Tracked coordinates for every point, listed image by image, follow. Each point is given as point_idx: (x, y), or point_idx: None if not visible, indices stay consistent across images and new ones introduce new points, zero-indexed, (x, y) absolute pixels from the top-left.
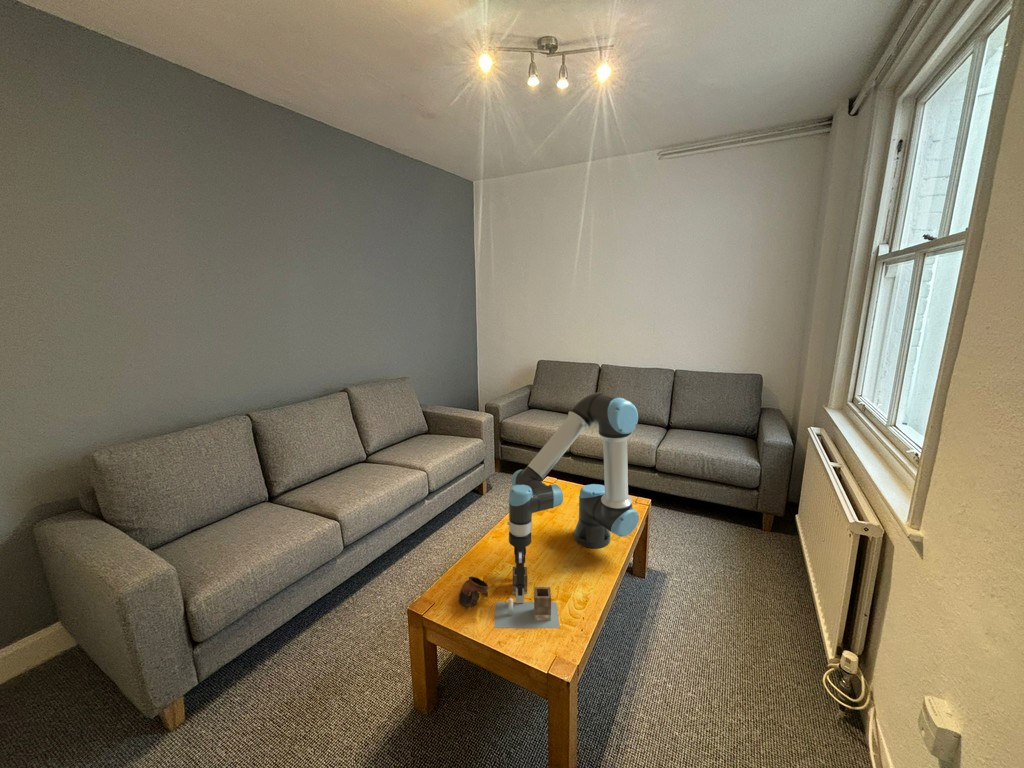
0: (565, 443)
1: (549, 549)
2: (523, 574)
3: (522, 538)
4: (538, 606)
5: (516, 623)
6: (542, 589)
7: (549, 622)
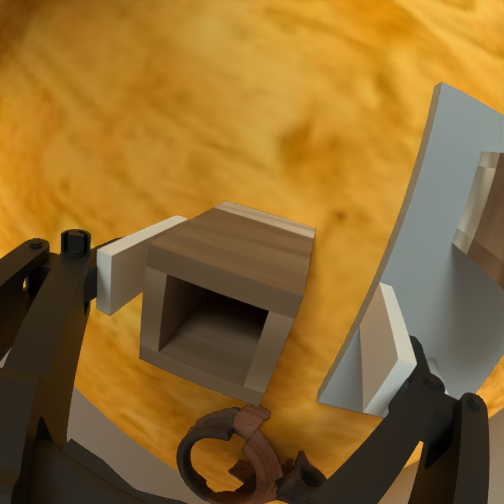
0: None
1: (24, 41)
2: (483, 497)
3: None
4: None
5: (483, 355)
6: None
7: None
